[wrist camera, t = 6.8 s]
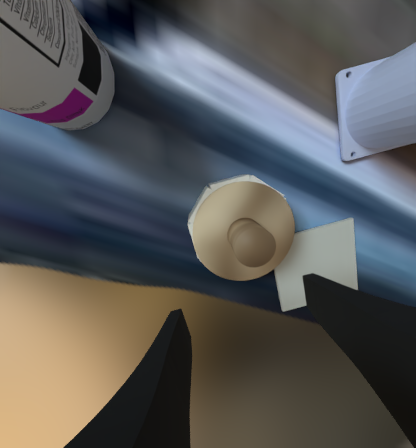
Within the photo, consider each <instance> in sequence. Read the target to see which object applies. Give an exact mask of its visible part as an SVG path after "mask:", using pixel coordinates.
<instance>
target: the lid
mask: <svg viewBox="0 0 416 448" xmlns="http://www.w3.org/2000/svg"><path fill="white" fill-rule="evenodd" d="M294 232H295V223H294V217H293V214H292V211H291V209H290V206H289V205H288V203H287V202H286V200H285V199H284V198H283V197H282V196H281V194H279V193H278V192H277V191H276V190H274V189H272V188H271V187H269V186H266V185H264V184H260V183H257V182H249V181H240V182H233V183H230V184H227V185H224V186H222V187H220V188H218V189H217V190H215V191H214V192H212V193H211V194H210V195H209V196H208V197H207V198H206V199H205V200H204V201H203V203H202V204H201V205H200V207H199V209H198V211H197V213H196V216H195V219H194V223H193V244H194V248H195V251H196V253H197V255H198V257H199V259H200V260H201V262H202V263H203V264H204V265H205V267H206V268H208V269H209V270H210V271H211V272H213V273H214V274H216V275H218V276H220V277H223V278H226V279H230V280H238V281H243V280H251V279H255V278H258V277H261V276H263V275H265V274H267V273H269V272H270V271H272V270H273V269H274V268H276V267H277V266H278V265H279V264H280V263H281V262H282V261H283V259H284V258H285V257H286V255H287V254H288V252H289V250H290V248H291V245H292V242H293V238H294Z"/></svg>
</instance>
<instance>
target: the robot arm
mask: <svg viewBox="0 0 416 448" xmlns="http://www.w3.org/2000/svg"><path fill="white" fill-rule="evenodd" d="M346 73H347V74H348V78H347V77H346ZM335 82H336V96H337V109H338V123H339V136H340V150H341V159H342V160H343V161H350V160H354V159H357V158H361V157H365V156H368V155H372V154H376V153H379V152H383V151H387V150H390V149H394V148H398V147H401V146H405V145H409V144H413V143H416V42H415V43H414V44H412V45H410V46H409V47H407V48H405V49H404V50H402V51H400V52H398V53H397V54H395V55H393V56H392V57H388V58H384V59H381V60H377V61H374V62H370V63H366V64H363V65H359V66H355V67H352V68H348V69H345V70H342V71H340V72H339V73H338V74H337V75H336V77H335ZM351 153H353V156H352V157H351ZM302 277H303V284H304V291H305V298H306V305H307V307H308V308H309V310H310V311H311V313H312V314H313V316H314V317H315V319H316V320H317V321H318V323H319V324H320V325H321V326H322V327H323V329H324V330H325V331H326V332H327V333H328V334H329V336H330V337H331V338H332V339H333V340H334V341H335V342H336V343H337V345H338V346H339V347H340V348H341V349H342V350H343V351H344V353H345V354H346V355H347V356H348V357H349V358H350V360H351V361H352V362H353V363H354V364H355V366H356V367H357V368H358V369H359V371H360V372H361V373H362V375H363V376H364V377H365V379H366V380H367V382H368V383H369V384H370V386H371V387H372V388H373V389H374V391H375V392H376V394H377V395H378V396H379V398H380V399H381V401H382V402H383V404H384V405H385V406H386V408H387V409H388V410H389V412H390V413H391V415H392V416H393V418H394V419H395V420H396V422H397V423H398V425H399V426H400V428H401V429H402V431H403V432H404V433H405V435H406V436H407V438H408V439H409V441H410V442H411V444H412V445H413V447H414V448H416V308H415V307H411V306H407V305H403V304H399V303H396V302H392V301H389V300H385V299H382V298H379V297H376V296H373V295H370V294H367V293H364V292H361V291H358V290H355V289H353V288H350V287H348V286H345V285H342V284H340V283H337V282H335V281H332V280H330V279H327V278H325V277H322V276H320V275H317V274H314V273H311V274H307V275H303V276H302ZM191 369H192V346H191V336H190V333H189V330H188V327H187V324H186V321H185V319H184V315H183V312H182V310H181V309H178V310H174V311H171V312H170V314H169V315H168V317H167V319H166V321H165V323H164V325H163V326H162V328H161V330H160V332H159V333H158V335H157V337H156V338H155V340H154V342H153V344H152V345H151V347H150V348H149V350H148V351H147V353H146V354H145V356H144V358H143V359H142V361H141V362H140V363H139V365H138V366H137V367H136V369H135V370H134V372H133V373H132V374H131V375H130V377H129V378H128V379H127V381H126V382H125V383H124V384H123V386H122V387H121V388H120V389H119V390H118V391H117V392H116V394H115V395H114V396H113V397H112V399H111V400H110V401H109V402H108V403H107V404H106V405H105V406H104V407H103V409H102V410H101V411H100V412H99V413H98V414H97V415H96V416H95V417H94V418H93V419H92V420H91V421H90V422H89V423H88V424H87V425H86V426H85V427H84V428H83V429H82V430H81V431H80V432H79V433H78V434H77V435H76V436H75V437H74V438H73V439H72V440H71V441H70V442H69V443H68V444H67V445H66V446H65V447H64V448H190V420H189V419H190V418H189V411H190V410H189V409H190V388H191V387H190V386H191Z"/></svg>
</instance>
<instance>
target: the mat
mask: <svg viewBox="0 0 416 448" xmlns="http://www.w3.org/2000/svg"><path fill="white" fill-rule="evenodd" d="M274 273H275V278H276V284H277V289H278V294H279V299H280V304H281V310H282V311H283V312H284V311H287V310H291V309H295V308H299V307H302V306H306V298H305V291H304V284H303V277H302V276H303V275H307V274H311V273H314V274H317V275H320V276H322V277H325V278H327V279H330V280H332V281H335V282H337V283H340V284H342V285H345V286H348V287H350V288H353V289H355V290H358V284H357V268H356V252H355V237H354V221H353V218H347V219H344V220H340V221H336V222H333V223H329V224H325V225H322V226H318V227H314V228H311V229H307V230H303V231H300V232H296V233H294V238H293V242H292V245H291V248H290V250H289V252H288V254H287V255H286V257H285V258H284V259H283V261H282V262H281V263H280V264H279V265H278V266H277V267H276V268H274Z"/></svg>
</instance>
